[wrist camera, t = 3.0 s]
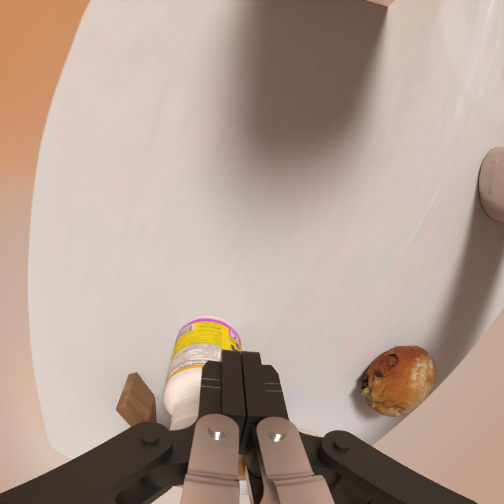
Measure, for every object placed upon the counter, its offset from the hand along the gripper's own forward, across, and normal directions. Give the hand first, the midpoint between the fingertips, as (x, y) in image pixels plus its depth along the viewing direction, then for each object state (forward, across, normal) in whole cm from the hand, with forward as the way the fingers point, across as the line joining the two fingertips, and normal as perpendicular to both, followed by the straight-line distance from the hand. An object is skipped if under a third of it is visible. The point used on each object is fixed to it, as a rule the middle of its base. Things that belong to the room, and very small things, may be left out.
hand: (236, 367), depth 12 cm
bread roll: (+17, -23, +14) cm, 32 cm away
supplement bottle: (+17, +1, +10) cm, 20 cm away
